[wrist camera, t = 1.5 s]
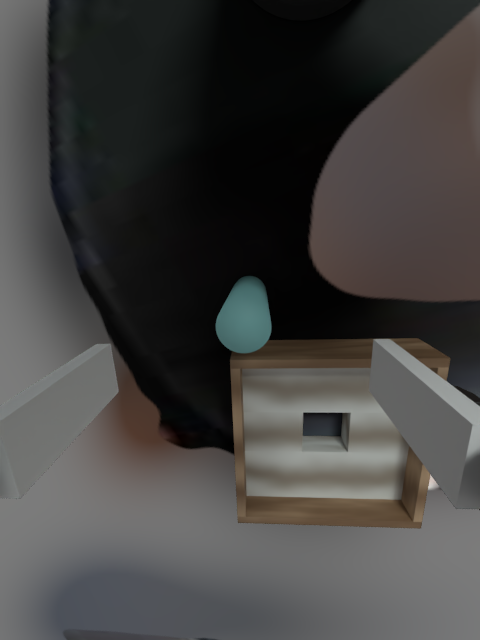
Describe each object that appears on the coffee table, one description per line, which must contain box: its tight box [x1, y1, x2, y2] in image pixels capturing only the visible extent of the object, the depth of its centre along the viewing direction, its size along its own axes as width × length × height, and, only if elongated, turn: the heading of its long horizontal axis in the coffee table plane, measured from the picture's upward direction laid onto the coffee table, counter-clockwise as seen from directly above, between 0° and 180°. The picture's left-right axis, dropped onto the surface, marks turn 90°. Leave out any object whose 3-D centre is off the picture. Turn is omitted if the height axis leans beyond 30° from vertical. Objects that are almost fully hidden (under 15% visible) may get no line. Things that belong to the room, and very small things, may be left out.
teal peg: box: [216, 276, 271, 353], centre depth 27 cm, size 4×4×14 cm
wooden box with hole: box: [230, 338, 450, 528], centre depth 35 cm, size 22×22×6 cm
